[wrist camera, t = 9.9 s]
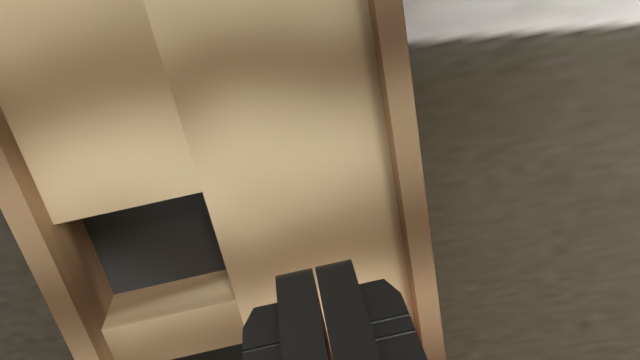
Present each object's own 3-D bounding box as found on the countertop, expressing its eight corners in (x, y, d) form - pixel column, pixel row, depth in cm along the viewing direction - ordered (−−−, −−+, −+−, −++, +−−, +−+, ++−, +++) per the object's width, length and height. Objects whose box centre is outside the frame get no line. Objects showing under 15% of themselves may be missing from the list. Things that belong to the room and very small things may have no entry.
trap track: (-77, -100, 17) (-214, -109, 12) (352, -188, 17) (395, -233, 12) (172, 469, 27) (156, 591, 22) (434, 408, 28) (476, 514, 23)
